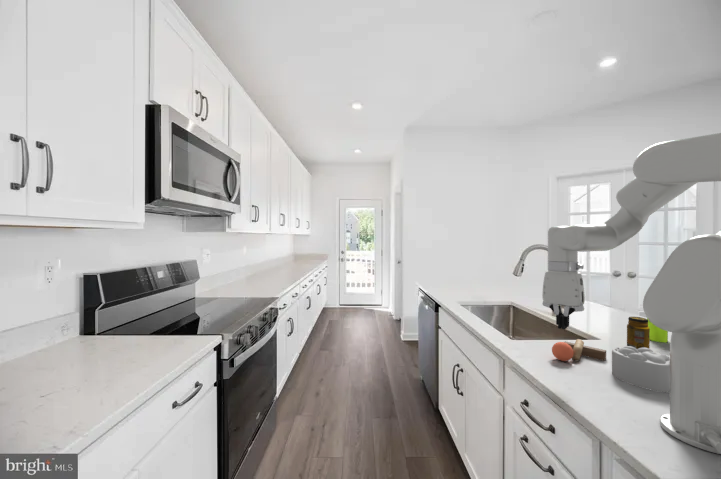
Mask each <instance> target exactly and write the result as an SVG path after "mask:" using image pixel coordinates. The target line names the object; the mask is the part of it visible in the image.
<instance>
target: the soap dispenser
mask: <svg viewBox="0 0 721 479" xmlns="http://www.w3.org/2000/svg"><path fill="white" fill-rule="evenodd" d="M646 319H647V320H648V327H649V329H650V332H649V333H650V334H649V337H650V339H649V340H650V341H651V342H657V343H667V342H669V341H668V339H669V335H668V333H669V331H665V330H663V329H660V328H658V327H657V326H655V325H654V324H652V323H651V322H650V321H649V319H648V318H647V317H646Z"/></svg>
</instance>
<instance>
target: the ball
mask: <svg viewBox="0 0 721 479" xmlns="http://www.w3.org/2000/svg"><path fill="white" fill-rule="evenodd" d="M564 342H565V341H557V342H555V343H554V344H553V345H552V347H551V353H552V355H553V356H554V357H555V358H556V359H557V360H558V361H561V362H568V361H570V360H572V357H573V349H572V348H571V346H570V345H568V344H567V343H564Z"/></svg>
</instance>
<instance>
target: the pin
mask: <svg viewBox="0 0 721 479" xmlns="http://www.w3.org/2000/svg"><path fill="white" fill-rule="evenodd" d="M574 343H575V345H574V348H573V357H572V358H571V360H572V361H574V362H579V361H580V360H581V357H582V355H581V353H582V349H583V345H584V346H585V342H584V340H582V339H579V338H577V339H575V342H574Z"/></svg>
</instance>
